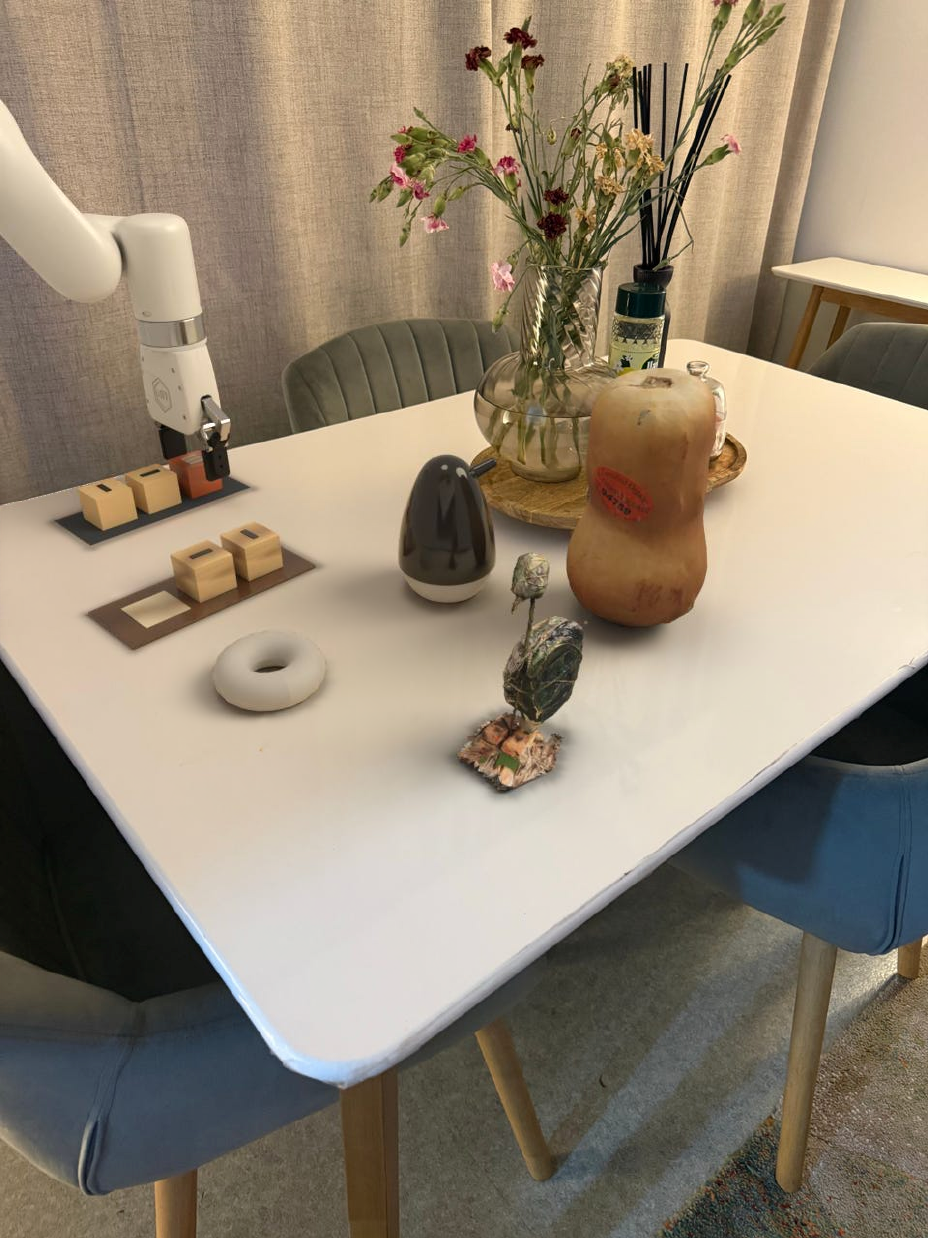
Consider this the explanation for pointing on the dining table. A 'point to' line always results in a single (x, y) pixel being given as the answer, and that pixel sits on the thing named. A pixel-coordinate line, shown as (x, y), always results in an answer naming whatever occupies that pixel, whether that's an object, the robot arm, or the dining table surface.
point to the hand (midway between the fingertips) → (196, 467)
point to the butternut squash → (644, 499)
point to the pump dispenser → (447, 531)
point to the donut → (271, 688)
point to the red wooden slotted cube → (192, 475)
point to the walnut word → (203, 584)
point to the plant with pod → (529, 688)
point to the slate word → (135, 503)
